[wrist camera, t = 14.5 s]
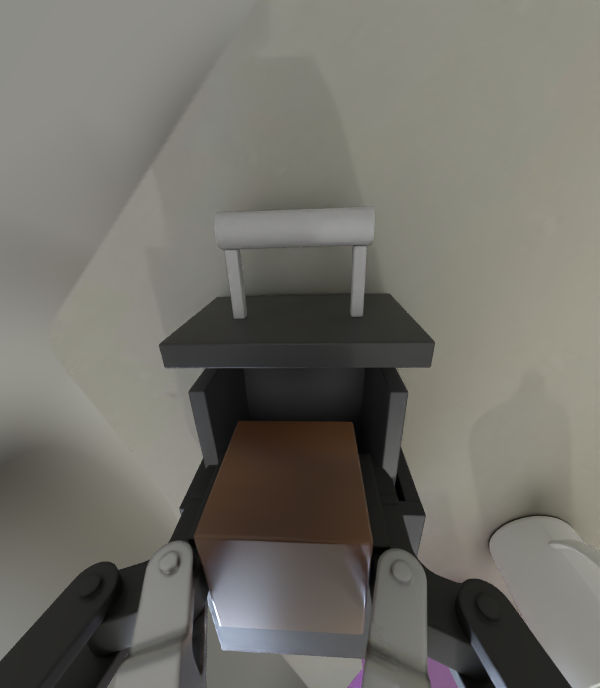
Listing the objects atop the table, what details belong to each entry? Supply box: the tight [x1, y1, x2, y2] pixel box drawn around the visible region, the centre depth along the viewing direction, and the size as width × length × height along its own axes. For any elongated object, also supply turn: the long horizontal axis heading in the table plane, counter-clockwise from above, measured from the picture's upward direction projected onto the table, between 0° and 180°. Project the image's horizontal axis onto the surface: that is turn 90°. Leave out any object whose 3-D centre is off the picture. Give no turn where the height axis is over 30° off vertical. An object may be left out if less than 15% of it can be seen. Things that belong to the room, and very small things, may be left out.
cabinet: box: [179, 447, 426, 659], centre depth 22 cm, size 16×13×10 cm
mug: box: [489, 516, 600, 688], centre depth 23 cm, size 12×8×10 cm, turn 10°
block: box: [194, 421, 373, 635], centre depth 10 cm, size 5×5×5 cm
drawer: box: [159, 206, 435, 486], centre depth 17 cm, size 20×11×8 cm, turn 2°
